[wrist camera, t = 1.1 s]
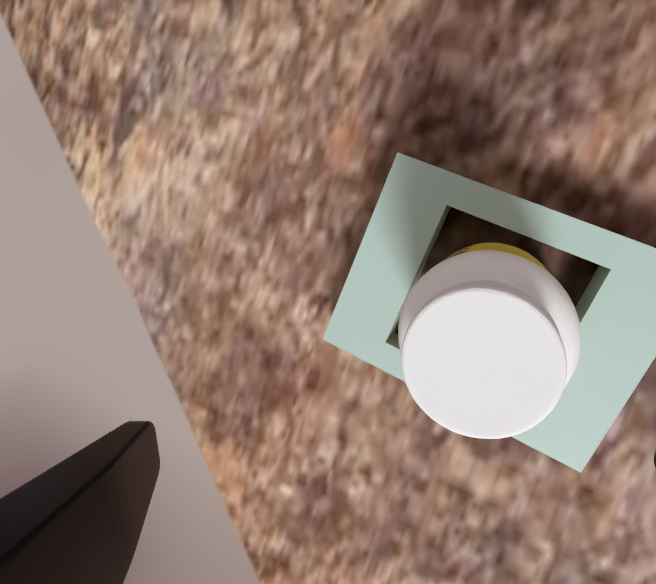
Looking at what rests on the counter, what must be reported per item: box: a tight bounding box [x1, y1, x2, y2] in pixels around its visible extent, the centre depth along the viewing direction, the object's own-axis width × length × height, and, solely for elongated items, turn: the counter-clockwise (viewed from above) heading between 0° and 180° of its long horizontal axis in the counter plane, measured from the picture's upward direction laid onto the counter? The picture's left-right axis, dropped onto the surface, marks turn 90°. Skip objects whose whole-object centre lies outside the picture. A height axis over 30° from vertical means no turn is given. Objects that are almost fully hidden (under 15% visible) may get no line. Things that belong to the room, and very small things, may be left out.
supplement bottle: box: [398, 242, 582, 439], centre depth 16 cm, size 5×5×10 cm
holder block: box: [323, 152, 656, 472], centre depth 19 cm, size 12×9×2 cm
